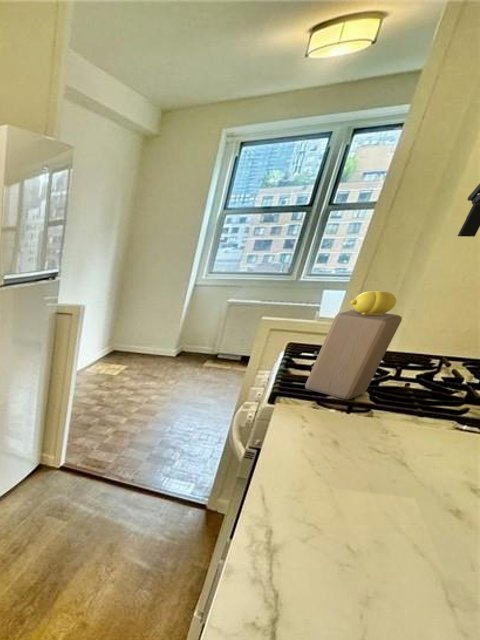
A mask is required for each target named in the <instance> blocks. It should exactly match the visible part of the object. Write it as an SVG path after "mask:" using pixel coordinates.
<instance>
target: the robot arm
mask: <svg viewBox="0 0 480 640" xmlns="http://www.w3.org/2000/svg"><path fill="white" fill-rule="evenodd" d="M466 200H467V201H468V202H470V201H471V204H472V206H471V208H470V210H469V212H468V214H467V216H466V219H465V220H464V223H463V224H462V226H461V228H460V230H459V232H458V233H457V237H469V238H470V237H471V238H472V237H473V238H474V237H476V235H477V233H478V231H479V230H480V183H479V184H478V185H477V186H476V187H475V188H474V189H473V191H472V192H471V193H470V194H469V196H468V197H467V199H466Z"/></svg>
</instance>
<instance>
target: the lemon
mask: <svg viewBox="0 0 480 640" xmlns="http://www.w3.org/2000/svg"><path fill="white" fill-rule="evenodd" d="M396 303H397V298H396V296H395V295H394V294H393V293H392V292H389V291H377V290H368V291H364V292H362V293H360V294H358V295H357V296H356V297H355V298H354V299H351V300H350V305H352V307H353V309H354V310H355V311H357V312H358V313H361V314H363V315H381V316H382V314H383V313H388V312H390V311H391V310H393V309H394V307H395V306H396Z"/></svg>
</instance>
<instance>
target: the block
mask: <svg viewBox="0 0 480 640" xmlns="http://www.w3.org/2000/svg"><path fill="white" fill-rule="evenodd" d="M402 319H403V317H402V316H401V315H399V314H393V313H388V312H386V313H383V314H382V316H381V315H363V314H361V313H358V312H357V311H355V310H354V308H353V309H349V310H347V311H346V310H345V311H342V312H338V313H337V314H336V315H335V316H334V318H333V320H332V323H331V325H330V328H329V330H328V331H327V334H326V336H325V339H324V341H323V343H322V345H321V347H320V350H319V352H318V355H317V357H316V360H315V361H314V364H313V365H312V368H311V371H310V373H309V376H308V378H307V380H306V382H305V384H304V389H306V390H308V391H311V392H316V393H320V394H323V395H327V396H330V397H334V398H338V399H342V400H346V401H347V400H352V399H353V398H356V397H358V396H360V395H363V394H364V393H366V391H367V390H368V388H369V386H370V384H371V382H372V380H373V378H374V377H375V375H376V373H377V370H378V368H379V366H380V365H381V362H382V360H383V358H384V356H385V355H386V352H387V350H388V348H389V346H390V344H391V342H392V341H393V338H394V337H395V334H396V332H397V330H398V328H399V327H400V325H401V323H402Z"/></svg>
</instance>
